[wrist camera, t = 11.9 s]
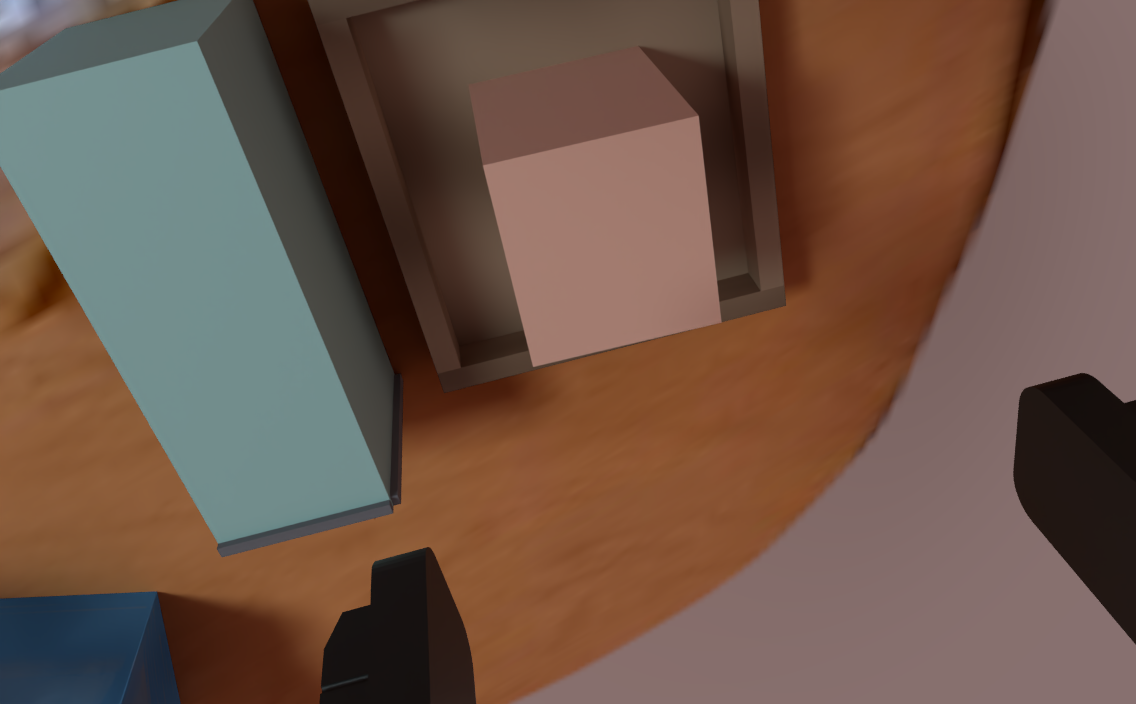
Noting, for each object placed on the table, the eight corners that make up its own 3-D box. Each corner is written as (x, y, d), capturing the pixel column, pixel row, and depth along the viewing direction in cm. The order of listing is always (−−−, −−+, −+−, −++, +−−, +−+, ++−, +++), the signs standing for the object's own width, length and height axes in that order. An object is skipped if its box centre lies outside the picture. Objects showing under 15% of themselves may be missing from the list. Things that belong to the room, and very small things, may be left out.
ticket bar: (65, 28, 22) (-43, 102, 17) (254, -19, 22) (205, 40, 17) (257, 416, 29) (221, 557, 23) (403, 379, 29) (400, 511, 23)
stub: (468, 84, 24) (482, 165, 19) (638, 45, 24) (698, 115, 19) (510, 255, 26) (533, 367, 21) (662, 219, 26) (721, 322, 21)
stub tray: (312, -20, 22) (305, -6, 21) (725, -123, 23) (747, -117, 21) (442, 360, 29) (444, 393, 27) (766, 278, 29) (786, 305, 27)
